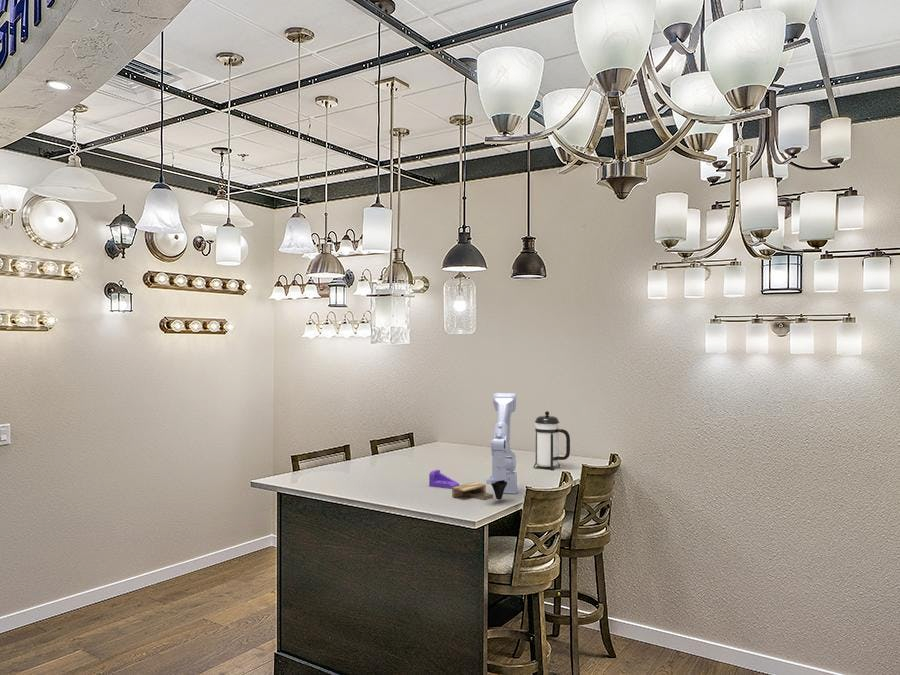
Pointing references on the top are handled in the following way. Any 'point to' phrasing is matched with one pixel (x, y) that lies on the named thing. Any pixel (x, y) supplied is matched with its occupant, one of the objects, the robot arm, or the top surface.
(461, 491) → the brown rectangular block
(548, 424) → the coffee press
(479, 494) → the grey rectangular block
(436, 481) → the bracket
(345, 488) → the top surface
